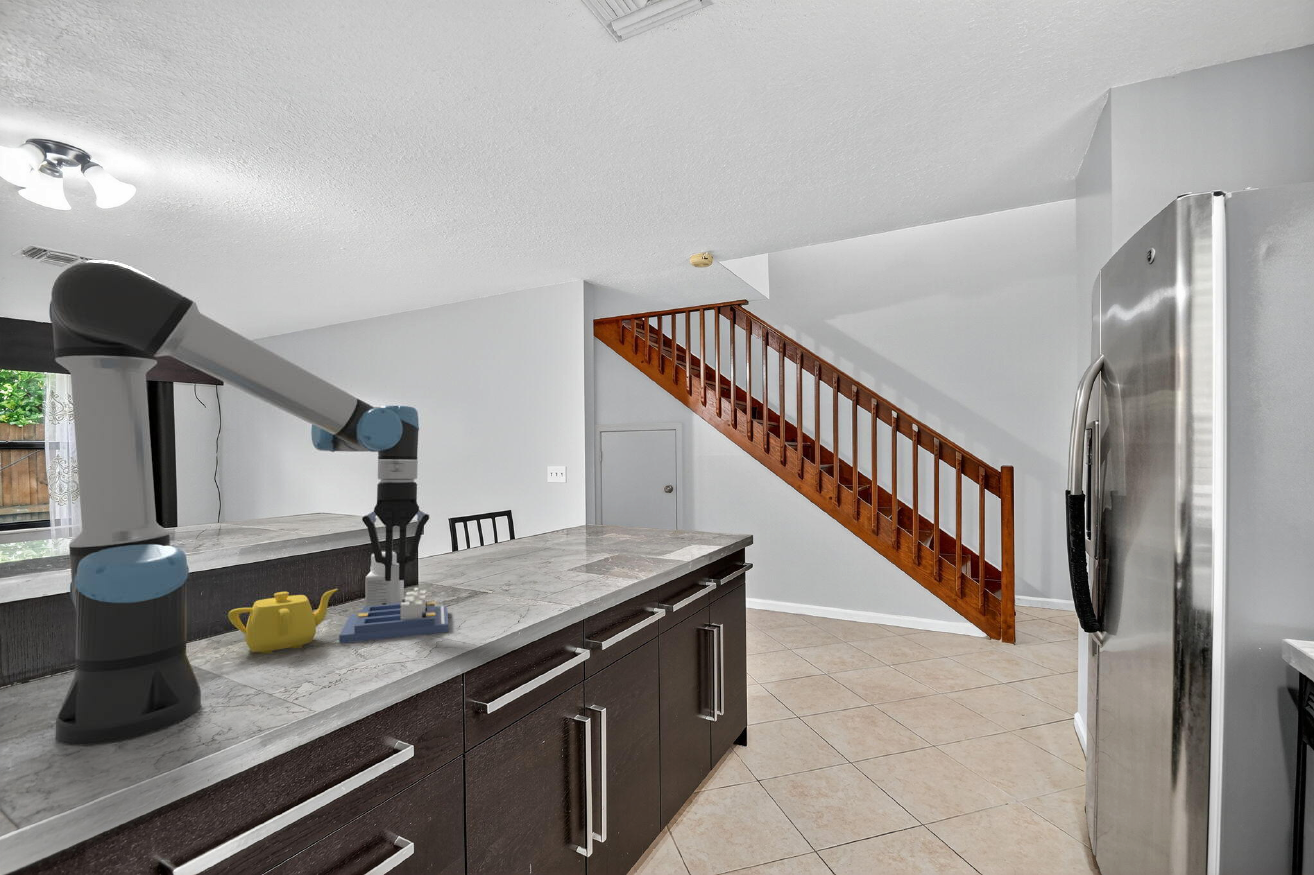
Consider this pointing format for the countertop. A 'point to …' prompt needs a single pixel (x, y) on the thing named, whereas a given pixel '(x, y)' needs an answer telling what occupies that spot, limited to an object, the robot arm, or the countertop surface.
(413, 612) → the grey studded block
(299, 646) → the teapot
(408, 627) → the blue divided tray
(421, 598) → the gray studded block
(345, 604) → the countertop surface
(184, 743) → the countertop surface
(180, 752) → the countertop surface
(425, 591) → the grey studded block
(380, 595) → the container
